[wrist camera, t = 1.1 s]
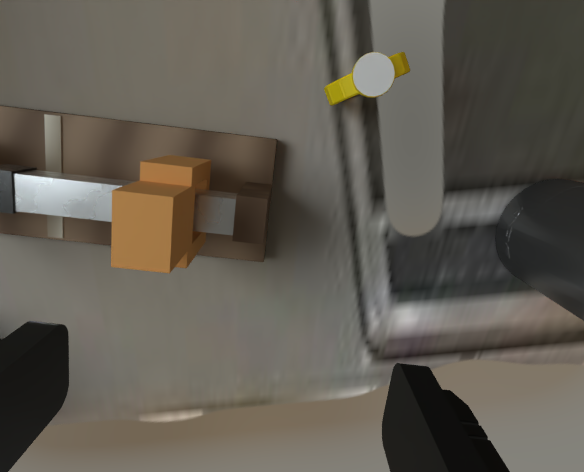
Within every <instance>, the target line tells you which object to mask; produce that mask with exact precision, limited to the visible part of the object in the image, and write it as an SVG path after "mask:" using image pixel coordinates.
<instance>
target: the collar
mask: <svg viewBox="0 0 584 472" xmlns="http://www.w3.org/2000/svg"><path fill="white" fill-rule="evenodd" d="M210 170H211V160H208V159H200V158H191V157H183V156H175V155H167V156H163V157H158V158H154V159H149V160H145V161H140V181H137V182H134V183H131V184H128V185H125V186H123V187H120V188H117V189H114V190H112V237H111V267H116V268H126V269H135V270H144V271H153V272H163V273H170V272H171V271H172V270H173V268H174V267H180V268H187V267H188V265H189V264H190V263H191V261H192V260H193V258H194V257H195V256H196V254H197V253H198V252H199V250H200V249H201V247H202V246H203V245H204V243H205V242H206V232H197V231H193V219H194V202H195V188H196V189H204V190H209V185H210Z"/></svg>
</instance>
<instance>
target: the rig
mask: <svg viewBox="0 0 584 472" xmlns="http://www.w3.org/2000/svg"><path fill="white" fill-rule="evenodd" d="M276 145H277V139H270V138H262V137H254V136H246V135H238V134H229V133H221V132H213V131H205V130H196V129H188V128H180V127H172V126H164V125H155V124H147V123H139V122H131V121H123V120H114V119H106V118H98V117H90V116H81V115H73V114H65V113H57V112H49V111H40V110H32V109H24V108H16V107H8V106H0V165H3V164H11V165H20V166H28V167H37V170H41V171H49V172H58V173H67V174H75V175H84V176H92V177H101V178H110V179H118V180H127V181H136V182H137V181H140V161H145V160H149V159H154V158H158V157H163V156H167V155H175V156H183V157H191V158H200V159H208V160H211V170H210V185H209V190H213V191H222V192H230V193H238V194H237V195H236V204H235V216H234V228H233V235H224V234H215V233H206V242H205V243H204V245H203V246H202V247H201V249H200V250H199V252H198V253H197V254H196V255H203V256H212V257H221V258H230V259H240V260H249V261H258V262H264V257H265V247H266V238H267V229H268V219H269V210H270V201H271V191H272V182H273V173H274V163H275V154H276ZM0 233H2V234H12V235H21V236H30V237H39V238H48V239H57V240H66V241H75V242H85V243H94V244H103V245H111V237H112V222H108V221H99V220H90V219H81V218H72V217H63V216H54V215H46V214H37V213H28V212H17V213H14V214H11V213H2V212H0Z"/></svg>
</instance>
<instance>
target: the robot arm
mask: <svg viewBox="0 0 584 472" xmlns="http://www.w3.org/2000/svg"><path fill="white" fill-rule="evenodd" d="M496 249H497V252H498V255H499V258H500V260H501V261H502V263H503V265H504V266H505V267H506V268H507V269H508V270H509V271H510V272H511V273H512V274H513V275H515V276H516V277H518V278H519V279H521V280H522V281H524V282H525V283H527V284H528V285H530V286H531V287H533V288H534V289H536V290H537V291H539V292H540V293H542V294H543V295H545V296H546V297H548V298H549V299H551V300H553V301H554V302H556V303H557V304H559V305H560V306H562V307H563V308H565V309H566V310H568V311H570V312H571V313H573V314H574V315H576V316H577V317H579V318H580V319H582V320H583V321H584V183H582V182H576V181H571V180H563V179H552V180H545V181H542V182H539V183H535V184H533V185H532V186H530V187H528V188H526V189H524V190H523V191H522V192H520V193H519V194H518V195H516V196H515V197H514V198H513V199H512V201H511V202H510V203H509V204H508V205H507V207H506V208H505V210H504V212H503V213H502V215H501V217H500V220H499V223H498V225H497V231H496ZM68 386H69V346H68V330H67V328H66V326H65V325H62V324H54V323H45V322H36V321H29V322H27V323H25V324H24V325H22V326H21V327H20V328H18V329H17V330H15V331H14V332H13V333H11V334H10V335H8V336H7V337H6V338H4V339H3V340H2V339H0V472H8V471H9V470H10V469H11V468H12V466H13V465H14V464H15V463H16V462H17V460H18V459H19V458H20V457H21V456H22V454H23V453H24V452H25V451H26V450H27V448H28V447H29V446H30V445H31V444H32V443H33V441H34V440H35V439H36V438H37V437H38V435H39V434H40V433H41V432H42V431H43V429H44V428H45V427H46V426H47V425H48V423H49V422H50V421H51V420H52V419H53V417H54V416H55V415H56V414H57V413H58V411H59V410H60V409H61V407H62V405H63V403H64V401H65V398H66V395H67V392H68ZM487 438H488V437H487V435H486V433H485V432H484V430H483V429H482V427H481V426H479V425H478V421H477V419H476V418H475V416H474V415H473V413H472V411H471V410H470V408H469V407H468V405H467V404H465V403H464V402H463V401H462V400H461V399H459V397H457V396H456V395H455V394H454V393H453V392H451V391H450V390H442V389H441V387H440V385H439V384H438V382H437V380H436V378H435V376H434V375H433V373H432V371H431V370H430V368H429V367H427V366H418V365H409V364H400V363H397V364H396V365H395V366H394V368H393V372H392V376H391V381H390V386H389V391H388V396H387V400H386V405H385V410H384V415H383V421H382V441H383V447H384V450H385V454H386V457H387V461H388V465H389V468H390V472H510V471H509V470H508V468H507V467H506V465H505V463H504V462H503V460H502V459H501V457H500V456H499V454H498V452H497V451H496V449H495V448H494V446H493V444H492V443H491V441H490V440H488V439H487Z"/></svg>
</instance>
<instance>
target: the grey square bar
mask: <svg viewBox="0 0 584 472" xmlns="http://www.w3.org/2000/svg"><path fill="white" fill-rule="evenodd" d="M134 182H136V181H127V180H118V179H110V178H101V177H92V176H84V175H75V174H67V173H58V172H49V171H41V170H37V167H28V166H20V165H11V164H3V165H0V212H2V213H11V214H14V213H17V212H28V213H37V214H46V215H54V216H63V217H72V218H81V219H90V220H99V221H108V222H112V190H114V189H117V188H120V187H123V186H125V185H128V184H131V183H134ZM237 194H238V193H230V192H222V191H213V190H204V189H196V188H195V202H194V219H193V231H197V232H206V233H215V234H224V235H233V228H234V216H235V204H236V195H237Z"/></svg>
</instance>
